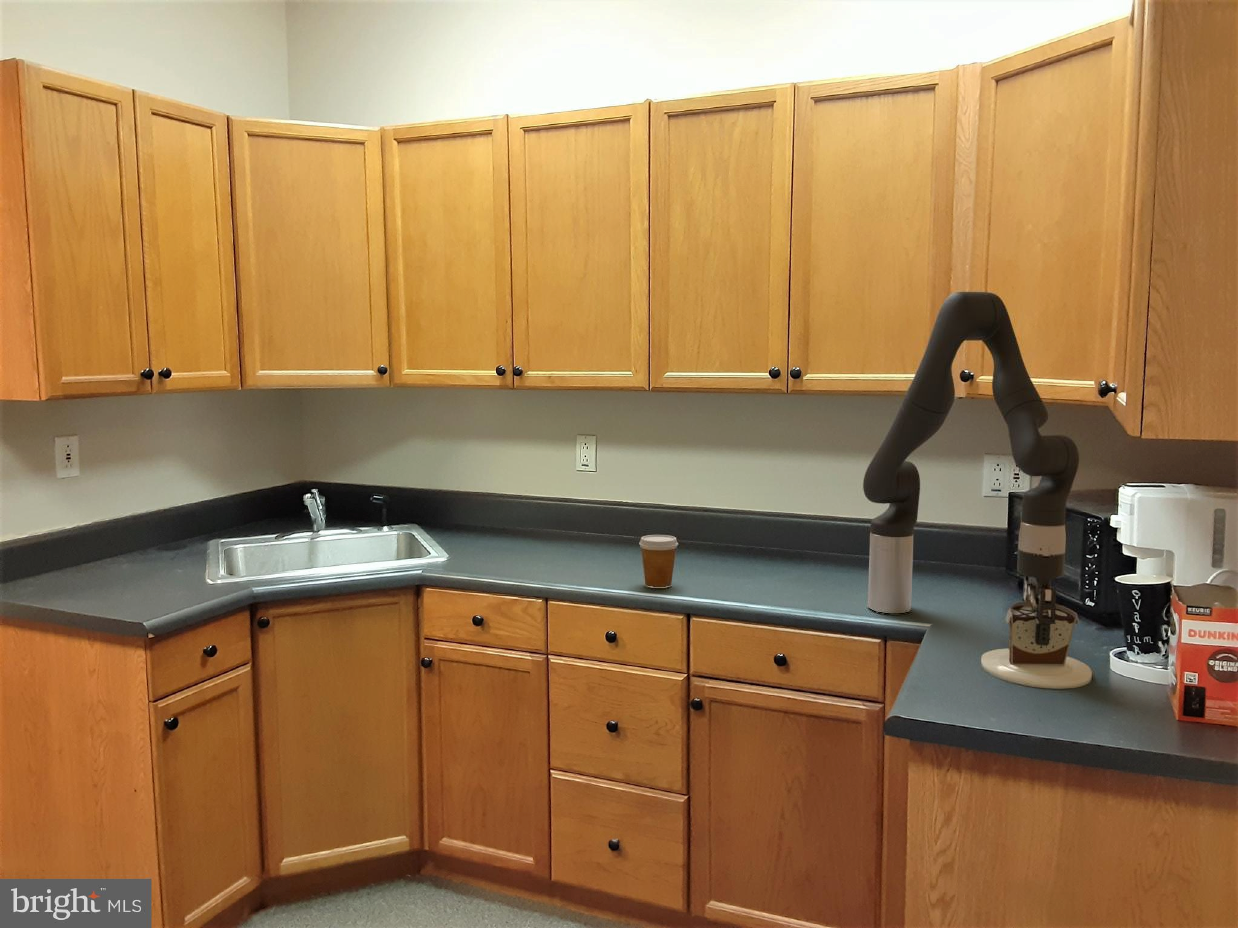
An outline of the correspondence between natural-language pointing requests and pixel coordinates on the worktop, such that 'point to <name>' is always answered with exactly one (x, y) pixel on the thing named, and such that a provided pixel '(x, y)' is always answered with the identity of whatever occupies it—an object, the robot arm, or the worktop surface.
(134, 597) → the worktop surface
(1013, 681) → the plate
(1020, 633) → the food container
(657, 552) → the disposable coffee cup
